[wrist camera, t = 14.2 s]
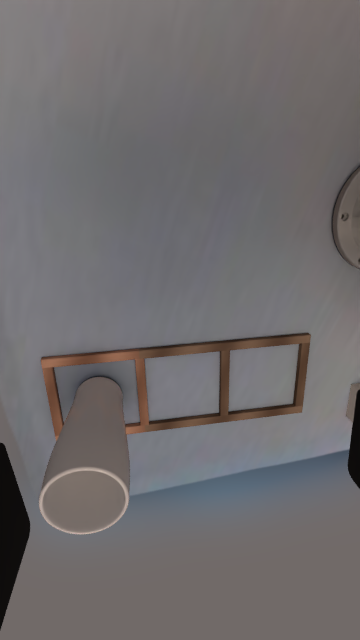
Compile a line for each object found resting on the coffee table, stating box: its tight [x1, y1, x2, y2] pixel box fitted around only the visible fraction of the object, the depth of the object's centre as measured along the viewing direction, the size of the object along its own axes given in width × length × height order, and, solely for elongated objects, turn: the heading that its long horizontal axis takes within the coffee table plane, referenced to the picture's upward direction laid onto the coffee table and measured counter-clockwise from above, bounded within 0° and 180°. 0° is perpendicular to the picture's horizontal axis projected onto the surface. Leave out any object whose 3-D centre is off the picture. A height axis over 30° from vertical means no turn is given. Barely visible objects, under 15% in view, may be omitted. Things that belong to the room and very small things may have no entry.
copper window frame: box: [41, 333, 311, 441], centre depth 40 cm, size 31×11×1 cm, turn 92°
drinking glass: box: [39, 377, 130, 534], centre depth 32 cm, size 7×7×15 cm
